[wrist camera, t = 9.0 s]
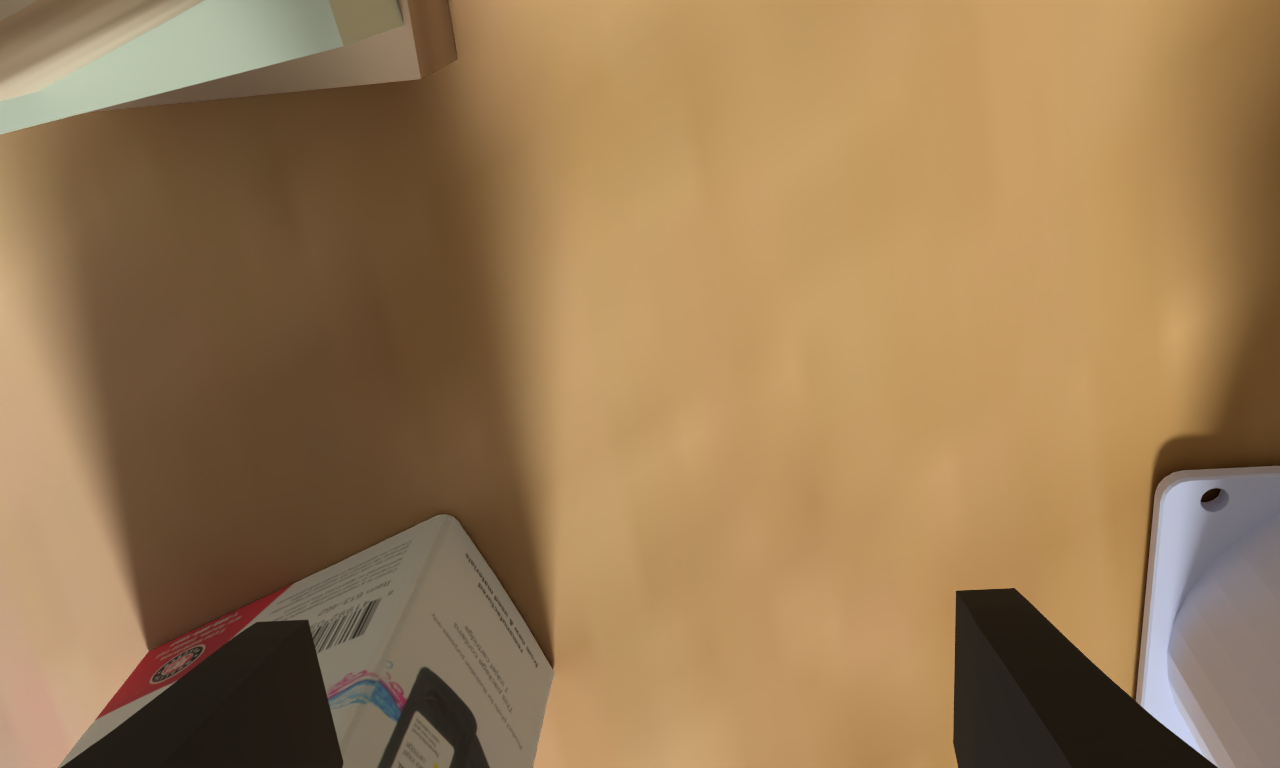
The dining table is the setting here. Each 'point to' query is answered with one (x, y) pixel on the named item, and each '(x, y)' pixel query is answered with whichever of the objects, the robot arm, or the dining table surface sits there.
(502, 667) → the ink box
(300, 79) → the walnut base block
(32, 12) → the maple block
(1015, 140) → the dining table surface
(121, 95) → the sage top block
